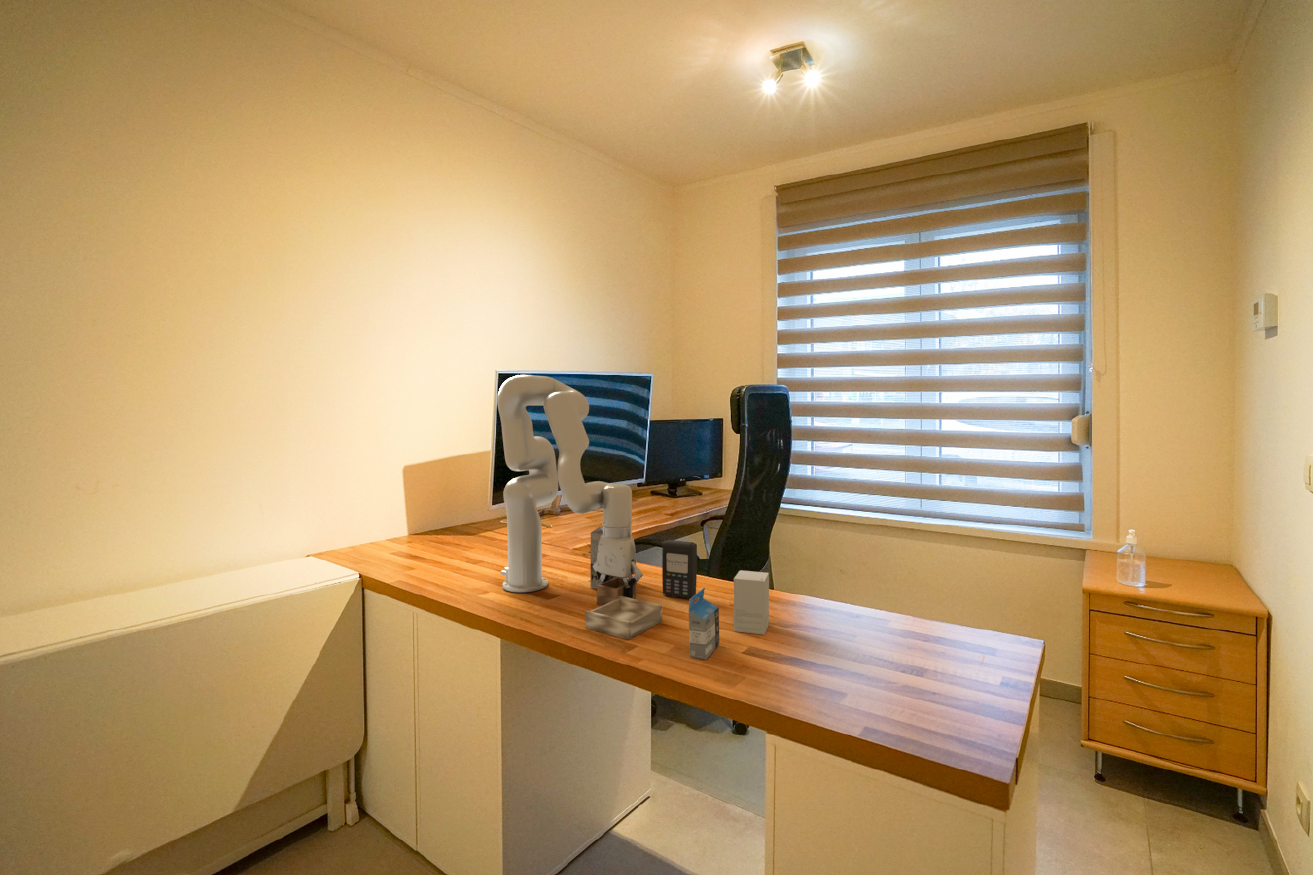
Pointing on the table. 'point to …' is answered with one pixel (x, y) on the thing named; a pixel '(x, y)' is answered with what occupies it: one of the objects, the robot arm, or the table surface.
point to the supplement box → (751, 602)
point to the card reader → (679, 568)
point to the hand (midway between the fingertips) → (617, 598)
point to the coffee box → (595, 557)
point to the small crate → (612, 590)
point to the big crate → (624, 617)
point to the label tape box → (703, 626)
